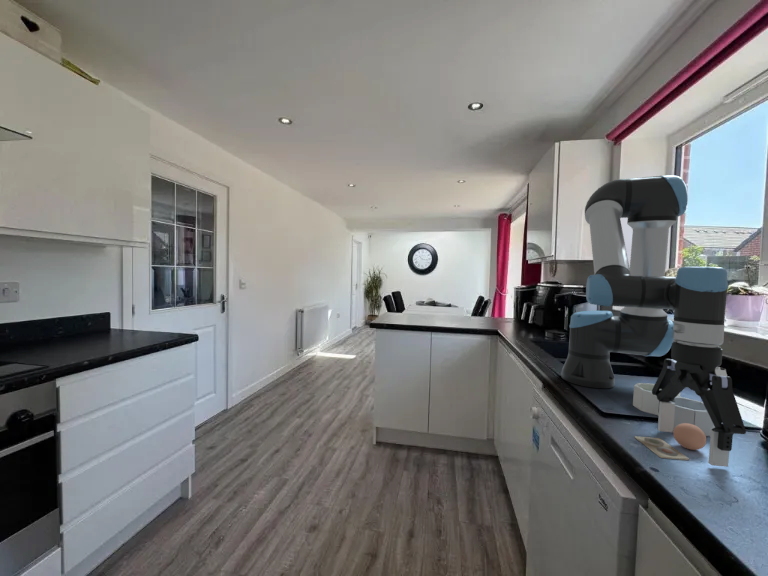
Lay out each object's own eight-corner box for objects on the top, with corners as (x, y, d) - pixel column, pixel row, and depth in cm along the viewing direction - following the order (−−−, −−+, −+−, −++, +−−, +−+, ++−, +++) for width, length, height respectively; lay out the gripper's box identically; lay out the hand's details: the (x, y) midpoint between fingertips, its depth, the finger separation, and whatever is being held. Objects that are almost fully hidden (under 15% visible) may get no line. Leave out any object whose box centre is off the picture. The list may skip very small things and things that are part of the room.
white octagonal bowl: (626, 401, 94) (628, 382, 94) (661, 403, 93) (663, 384, 93) (648, 415, 85) (649, 393, 85) (687, 417, 84) (688, 396, 84)
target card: (634, 437, 73) (634, 435, 73) (659, 439, 72) (659, 437, 72) (660, 457, 65) (660, 455, 65) (689, 460, 65) (689, 457, 64)
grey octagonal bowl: (653, 417, 84) (654, 395, 84) (692, 419, 83) (694, 397, 83) (680, 434, 75) (682, 410, 75) (725, 437, 74) (727, 413, 74)
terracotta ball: (666, 441, 72) (668, 418, 72) (692, 443, 71) (693, 420, 71) (684, 453, 67) (686, 429, 67) (712, 455, 66) (714, 431, 66)
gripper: (637, 332, 81) (631, 419, 82) (732, 357, 56) (723, 481, 57) (671, 333, 80) (665, 421, 81) (783, 359, 55) (772, 486, 56)
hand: (689, 446), depth 69 cm, fingers open, 13 cm apart
